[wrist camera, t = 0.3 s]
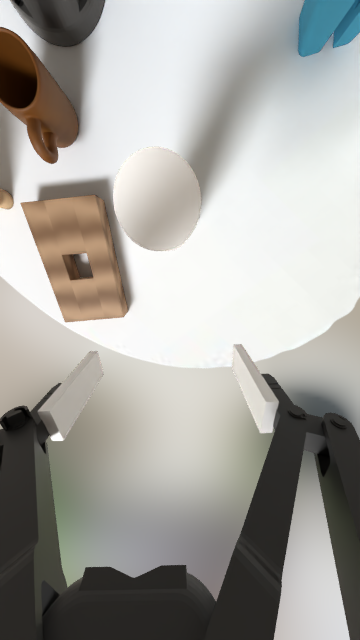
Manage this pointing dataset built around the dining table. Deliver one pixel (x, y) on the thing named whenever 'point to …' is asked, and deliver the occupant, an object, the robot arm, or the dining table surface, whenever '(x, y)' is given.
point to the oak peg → (5, 199)
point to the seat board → (76, 238)
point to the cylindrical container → (157, 199)
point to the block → (327, 24)
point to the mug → (35, 97)
